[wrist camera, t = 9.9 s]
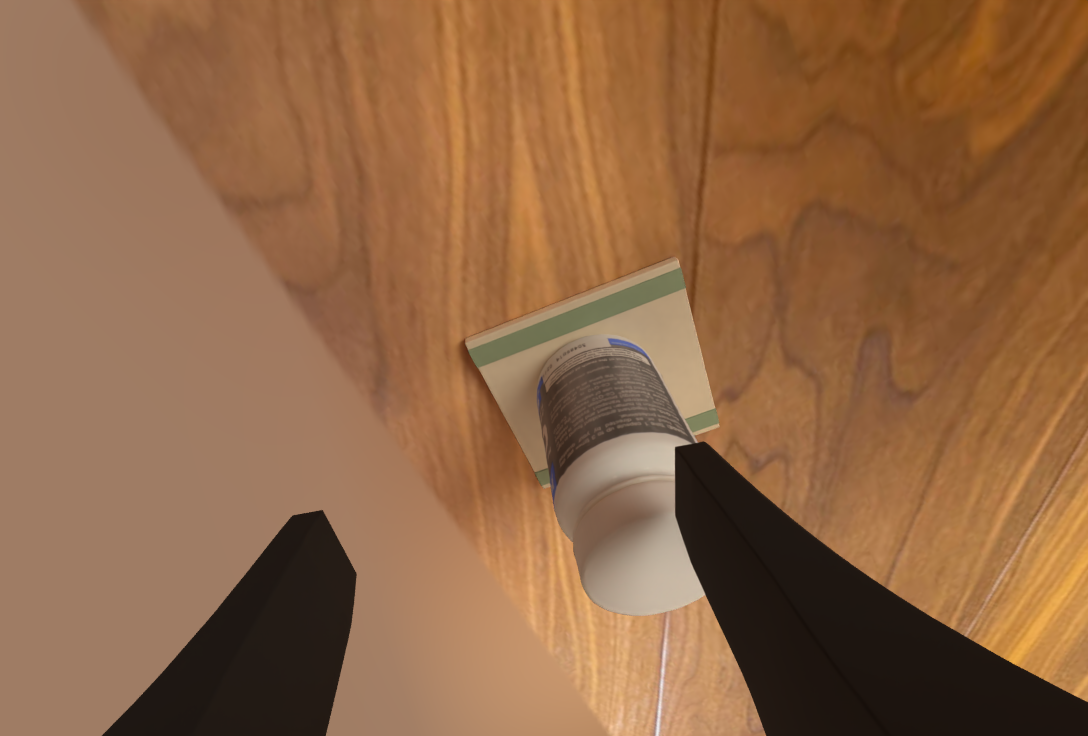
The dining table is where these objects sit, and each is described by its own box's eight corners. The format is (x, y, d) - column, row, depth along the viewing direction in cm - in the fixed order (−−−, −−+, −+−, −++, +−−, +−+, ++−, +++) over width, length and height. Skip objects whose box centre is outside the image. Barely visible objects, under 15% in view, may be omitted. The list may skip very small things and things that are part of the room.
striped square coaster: (542, 482, 23) (544, 490, 23) (464, 338, 19) (464, 344, 19) (716, 421, 22) (720, 428, 22) (674, 255, 18) (679, 260, 18)
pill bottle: (509, 382, 20) (525, 573, 13) (610, 306, 18) (691, 471, 11) (583, 451, 22) (633, 647, 15) (678, 387, 21) (781, 568, 14)
